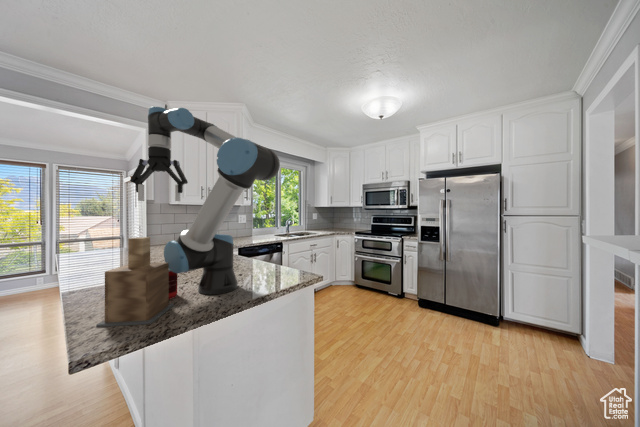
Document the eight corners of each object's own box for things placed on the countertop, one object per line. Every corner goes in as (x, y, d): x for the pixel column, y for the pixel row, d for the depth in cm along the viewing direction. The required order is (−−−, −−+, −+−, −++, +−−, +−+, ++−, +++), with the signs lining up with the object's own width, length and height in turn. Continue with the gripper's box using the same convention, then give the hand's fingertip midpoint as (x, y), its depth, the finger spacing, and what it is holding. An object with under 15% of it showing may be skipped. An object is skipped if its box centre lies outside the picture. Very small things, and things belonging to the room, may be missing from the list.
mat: (173, 305, 82) (173, 303, 82) (150, 323, 69) (150, 321, 69) (129, 307, 81) (129, 305, 81) (96, 326, 67) (96, 324, 67)
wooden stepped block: (168, 305, 81) (168, 235, 81) (148, 320, 70) (148, 239, 70) (131, 306, 80) (131, 236, 80) (104, 322, 68) (104, 240, 68)
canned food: (162, 293, 94) (162, 266, 94) (181, 294, 94) (181, 266, 94) (147, 300, 87) (147, 270, 87) (168, 301, 86) (169, 270, 87)
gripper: (196, 151, 101) (196, 201, 101) (131, 149, 98) (131, 201, 98) (188, 146, 94) (188, 200, 94) (118, 144, 90) (118, 200, 90)
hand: (159, 201), depth 96 cm, fingers open, 13 cm apart
